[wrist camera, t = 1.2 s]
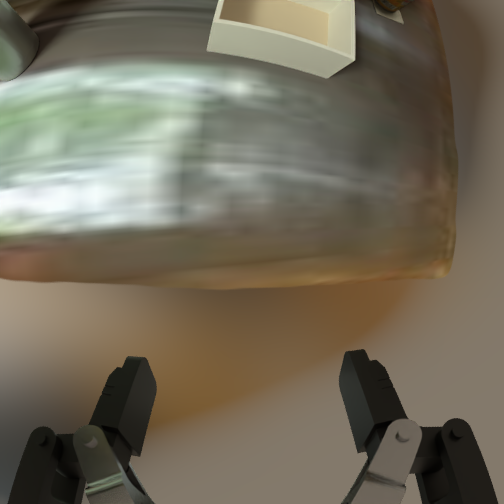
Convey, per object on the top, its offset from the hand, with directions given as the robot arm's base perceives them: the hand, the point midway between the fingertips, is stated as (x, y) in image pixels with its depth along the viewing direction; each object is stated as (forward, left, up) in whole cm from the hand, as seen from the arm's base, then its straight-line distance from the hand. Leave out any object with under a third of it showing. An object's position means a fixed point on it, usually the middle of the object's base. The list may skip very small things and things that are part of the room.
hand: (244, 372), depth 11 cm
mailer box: (-6, +34, -28) cm, 44 cm away
